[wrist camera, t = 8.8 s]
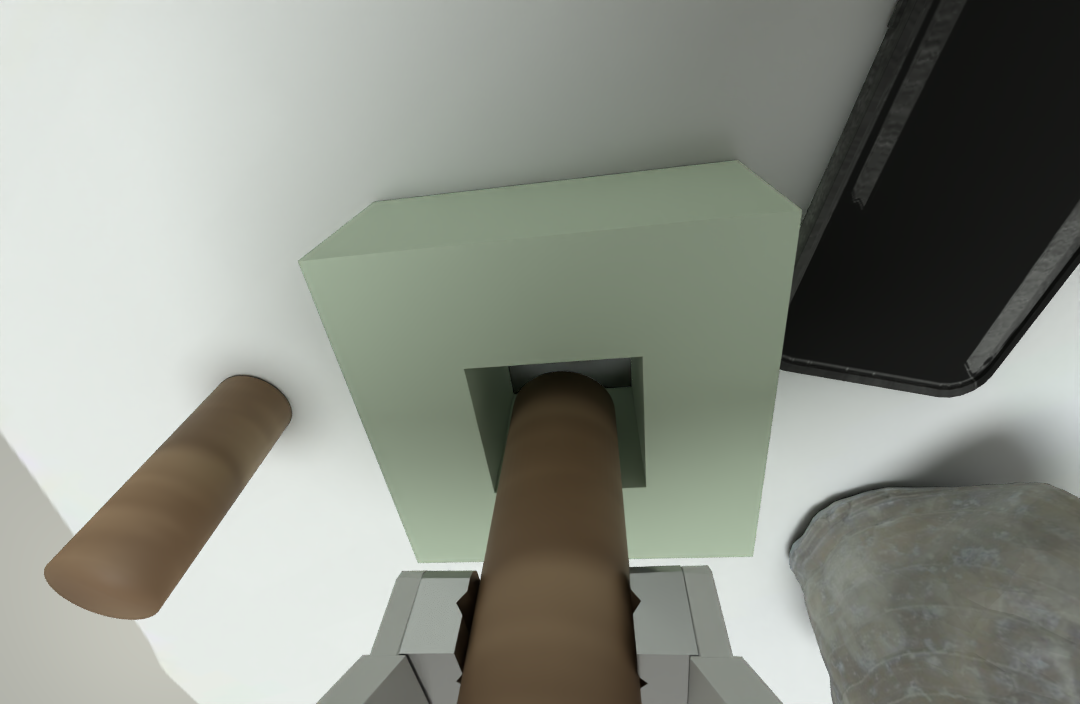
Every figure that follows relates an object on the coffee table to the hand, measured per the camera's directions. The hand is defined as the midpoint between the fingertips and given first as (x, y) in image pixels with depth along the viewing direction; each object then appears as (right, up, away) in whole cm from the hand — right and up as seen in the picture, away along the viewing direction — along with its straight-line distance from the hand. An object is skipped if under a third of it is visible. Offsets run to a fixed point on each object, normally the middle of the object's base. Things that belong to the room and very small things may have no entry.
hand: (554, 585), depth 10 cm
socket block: (+1, +5, +8) cm, 10 cm away
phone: (+12, +11, +4) cm, 16 cm away
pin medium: (-12, +2, +11) cm, 16 cm away
